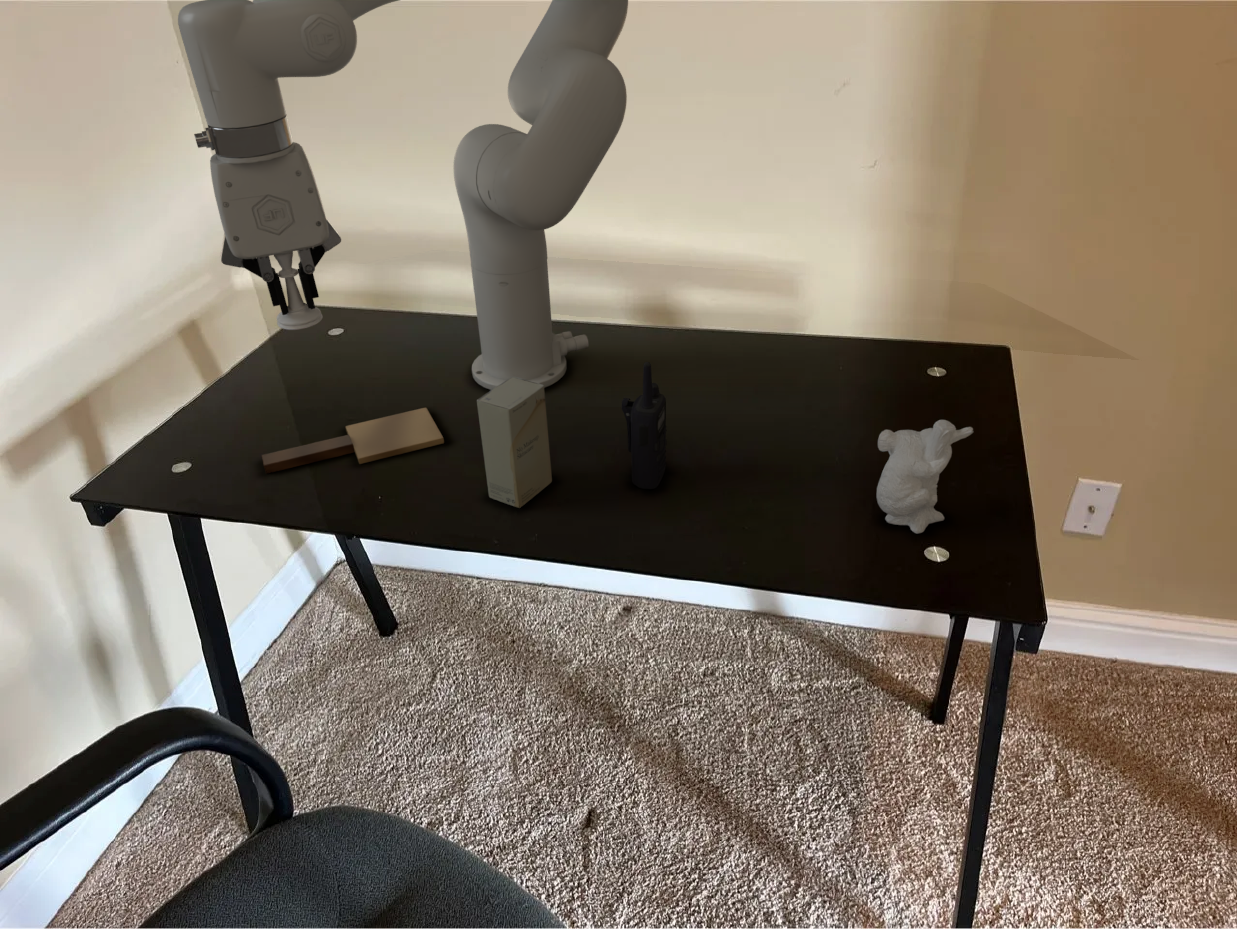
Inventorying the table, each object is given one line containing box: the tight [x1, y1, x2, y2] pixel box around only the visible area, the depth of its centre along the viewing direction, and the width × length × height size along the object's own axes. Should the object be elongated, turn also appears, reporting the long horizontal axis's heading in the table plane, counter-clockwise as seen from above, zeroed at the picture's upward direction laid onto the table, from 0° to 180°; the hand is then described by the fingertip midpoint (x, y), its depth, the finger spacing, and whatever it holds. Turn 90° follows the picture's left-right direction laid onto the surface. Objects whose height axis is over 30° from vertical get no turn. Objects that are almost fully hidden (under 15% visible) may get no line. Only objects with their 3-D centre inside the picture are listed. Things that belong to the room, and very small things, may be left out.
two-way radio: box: [621, 361, 668, 490], centre depth 98 cm, size 6×4×15 cm
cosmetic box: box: [476, 377, 553, 509], centre depth 97 cm, size 6×4×12 cm
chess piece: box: [273, 251, 323, 331], centre depth 100 cm, size 5×5×10 cm
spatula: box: [261, 407, 445, 475], centre depth 108 cm, size 20×8×1 cm, turn 114°
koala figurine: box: [875, 419, 975, 535], centre depth 91 cm, size 8×7×12 cm
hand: (297, 306), depth 102 cm, fingers closed on chess piece
